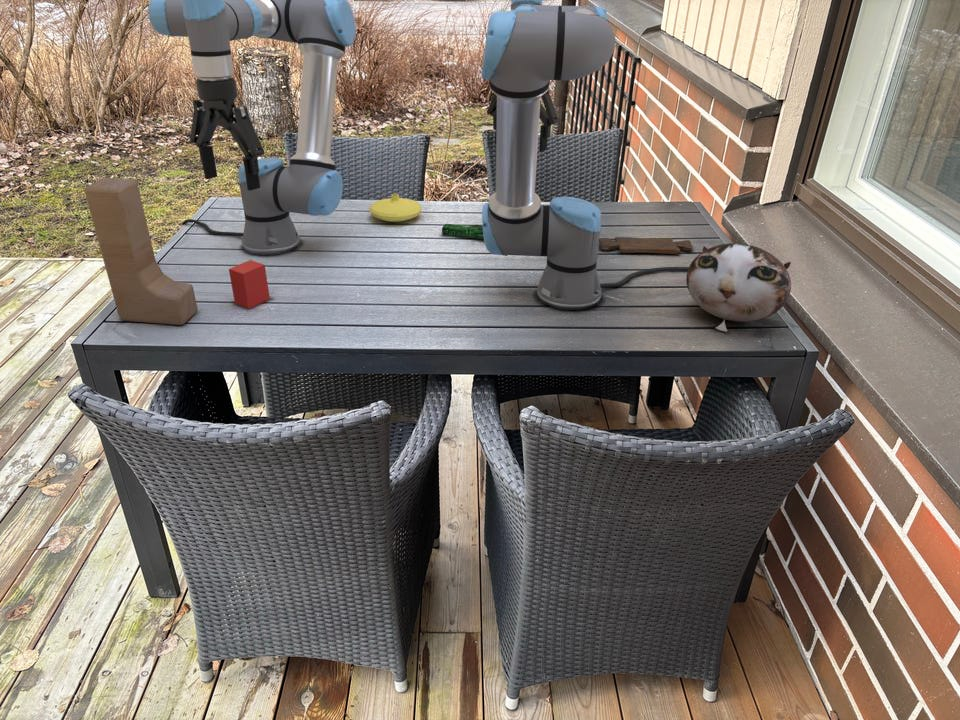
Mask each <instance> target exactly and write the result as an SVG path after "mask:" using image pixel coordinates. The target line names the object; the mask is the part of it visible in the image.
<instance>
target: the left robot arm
mask: <svg viewBox="0 0 960 720" xmlns="http://www.w3.org/2000/svg"><path fill="white" fill-rule="evenodd" d="M147 11H148V17H149V22H150V24H151V26H152V28H153V30H154V31H155V32H156V33H158V34H159V35H162V36H169V37H178V38H179V37H184V38H188V43H189V48H190V58H191V63H192V70H193V75H194V76H195V77H196V80H195V85H196V91H197V97H198V99H193V100H192V105H193V106H192V108H193V112H192V113H193V114H192V123H191V127H190V136H189V141H190V143H191V144H195V145H196V147H197V148H198V152H199V157H200V161H201V165H202V169H203V175H204V179H205V180H211V179H215V178H218V171H217V165H216V160H215V154H214V153H215V152H214V148H213V146H212V138H213V136H214V134H215V131H216V129H217V128H218V126H219V127H220V128H224V129H225V130H226V131H227V132H229V133H230V134H231V136H232V138H233V140H234V141H235V142H236V145H237V146H238V147H239V149H240V150H241V152H242V153H243V155H244V157H243V158H242V161H243V163H242V164H241V165H240V166H239V167H238V170H237V174H238V185H239V190H240V196H241V202H242V203H241V204H242V208H243V212H244V213H243V215H244V219H245V220H244V226H243V228H244V229H243V232H234V231H220V230H213V229H211V228H210V227H209V225H208V224H206V223H205V222H202V221H200V220H196V219H193V218H188V219H185V220H183V221H182V222H181V225H182V226H186V225H187V224H190V223H191V224H195V225H197V226H201V227H202V228H203V227H204V229H205V230H206V232H208V233H209V234H212V235H218V236H230V237H231V236H232V237H241V246H242V249H243V251H244V252H246V253H248V254H252V255H255V256H256V255H257V256H275V255H281V254H282V255H283V254H285V253H289V252H291V251H293V250H296V249H297V248H298V247H299V246H300V244H301V241H300V235H299V233H298V231H297V229H296V227H295V225H294V223H293V220H292V218H291V216H290V213H293V214H302V215H309V216H314V217H317V216H323V217H325V216H329V215H331V214H333V213H334V212H335V211H336V209H337V208H339V207H338V206H339V205H340V203H341V201H342V197H343V190H344V182H343V177H342V175H341V173H340V172H339V171H337V170H336V166H337V164H336V162H335V161H333V159H332V157H331V155H332V143H333V132H334V131H333V130H334V118H335V108H336V107H335V104H336V95H337V80H338V66H339V61H340V60H341V59H343V58H344V57H345V56H346V48H348V47H350V46H353V44H354V42H355V40H356V33H357V28H356V27H357V26H356V20H355V15H354V11H353V9H352V6H351V4H350V2H349V1H348V0H150V2H149V4H148V9H147ZM252 37H255V38H257V39H270V40H275V41H281V42H285V43H291V44H297V49H298V50H299V51H300V52H301V54H302V56H303V57H302V58H303V60H302V72H301V85H300V97H299V98H300V100H299V111H298V112H299V114H298V126H297V140H296V141H297V142H296V152H295V154H294V155H293V156H291V157H290V158H289V165H288V166H286V165H285V162H284V161H283V159H282V158H281V157H264V158H259V157H261V156H264V155H265V150H264V148H263V145H262V143H261V141H260V139H259V136H258V134H257V132H256V130H255V127H254V125H253V123H252V121H251V118H250V114H249V109H248V107H247V106H246V105H241V106H237V105H236V102H235V99H236V98H238V89H237V80H236V79H235V78H234V77H233V76H234V75H235V69H234V64H233V63H234V62H233V58H232V57H233V56H232V49H231V42H232V41H238V40H248V39H250V38H252ZM193 222H194V223H193Z"/></svg>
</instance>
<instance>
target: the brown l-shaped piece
mask: <svg viewBox="0 0 960 720" xmlns="http://www.w3.org/2000/svg"><path fill="white" fill-rule="evenodd" d="M83 191H84V194H85V199H86V201H87V206H88V209H89V212H90V217H91V220H92V224H93V227H94V231H95V234H96V238H97V242H98V245H99V249H100V253H101V256H102V260H103V263H104V267H105V270H106V275H107V278H108V283H109V286H110V289H111V292H112V293H111V294H112V297H113V300H114V304H115V308H116V311H117V315H118V318H119V320H120V321H124V322H137V323H150V324H160V325H161V324H162V325H173V326H174V325H175V326H182V325H185V324H186V323H187V322H188V321H189V320H190V319H192V318H193V316H194V315H195V314H196V313H197V312H198V304H197V299H196V293H195V290H194V285H192V283H187V282H182V281H177V280H174V279H172V278H171V277H170V276H167V275H166V274H164V272H163V270H162V269H161V267H160V265H159V264H158V262H157V260H156V257H155V252H154V248H153V245H152V239H151V235H150V231H149V227H148V223H147V218H146V214H145V209H144V206H143V201H142V196H141V192H140V189H139V184H138V181H137V179H133V178H116V177H115V178H114V177H104V178H101V179H99V180H97V181H96V182H93V183H92V184H90V185H87V186H85V187H84V190H83Z"/></svg>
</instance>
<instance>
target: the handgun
mask: <svg viewBox="0 0 960 720" xmlns="http://www.w3.org/2000/svg"><path fill="white" fill-rule="evenodd" d="M441 235H446V236H454V237H462V238H469V239H470V238H471V239H474V240H479V241H483V242H484V236H483V225H479V224H472V225H459V224H453V223H445V224H443V226H442V227H441Z"/></svg>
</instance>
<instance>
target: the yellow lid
mask: <svg viewBox="0 0 960 720" xmlns="http://www.w3.org/2000/svg"><path fill="white" fill-rule="evenodd" d="M399 196H400V195H399V194H398V193H392V194H391V195H390V197H389V198H383V199H379V200H376V201H374V202H373V203H372V204H371V205H370V206H369V212H370V214H371V216H373V217H374V218H375V219H376V218H377V219H379V220H381V221H384V222H392V223H394V222H395V223H396V222H397V223H399V222H405V221H409V220H411V219H413V218H416V217H417V216H419V215H420V214H421V212H422V205H421V204H420V203H419V202H418V201H416V200H414V199H411V198H405V197H399Z"/></svg>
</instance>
